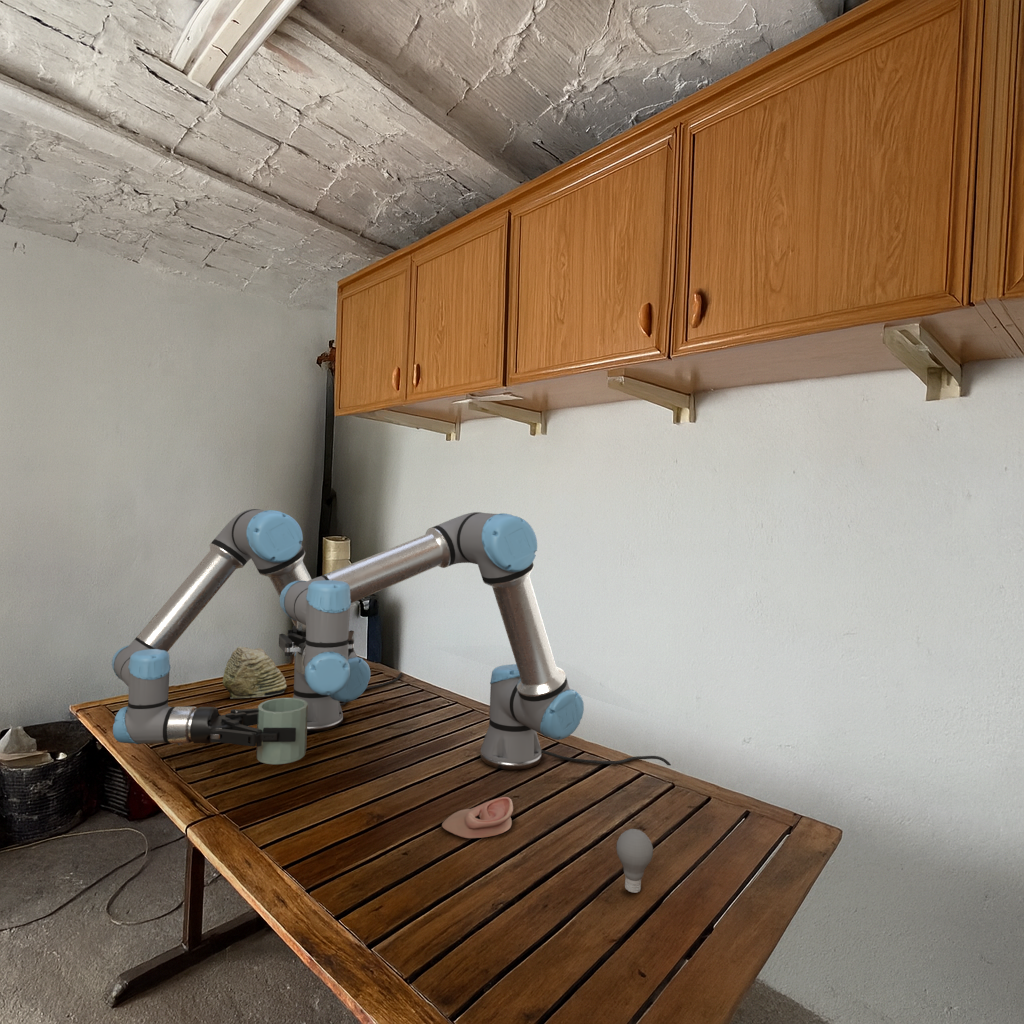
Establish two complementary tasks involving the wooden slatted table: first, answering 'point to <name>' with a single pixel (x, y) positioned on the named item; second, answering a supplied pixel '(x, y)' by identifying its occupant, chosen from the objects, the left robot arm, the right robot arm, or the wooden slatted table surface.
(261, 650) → the fossil
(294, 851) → the wooden slatted table surface
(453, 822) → the anatomical model
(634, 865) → the light bulb
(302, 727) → the pot
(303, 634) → the tumbler
